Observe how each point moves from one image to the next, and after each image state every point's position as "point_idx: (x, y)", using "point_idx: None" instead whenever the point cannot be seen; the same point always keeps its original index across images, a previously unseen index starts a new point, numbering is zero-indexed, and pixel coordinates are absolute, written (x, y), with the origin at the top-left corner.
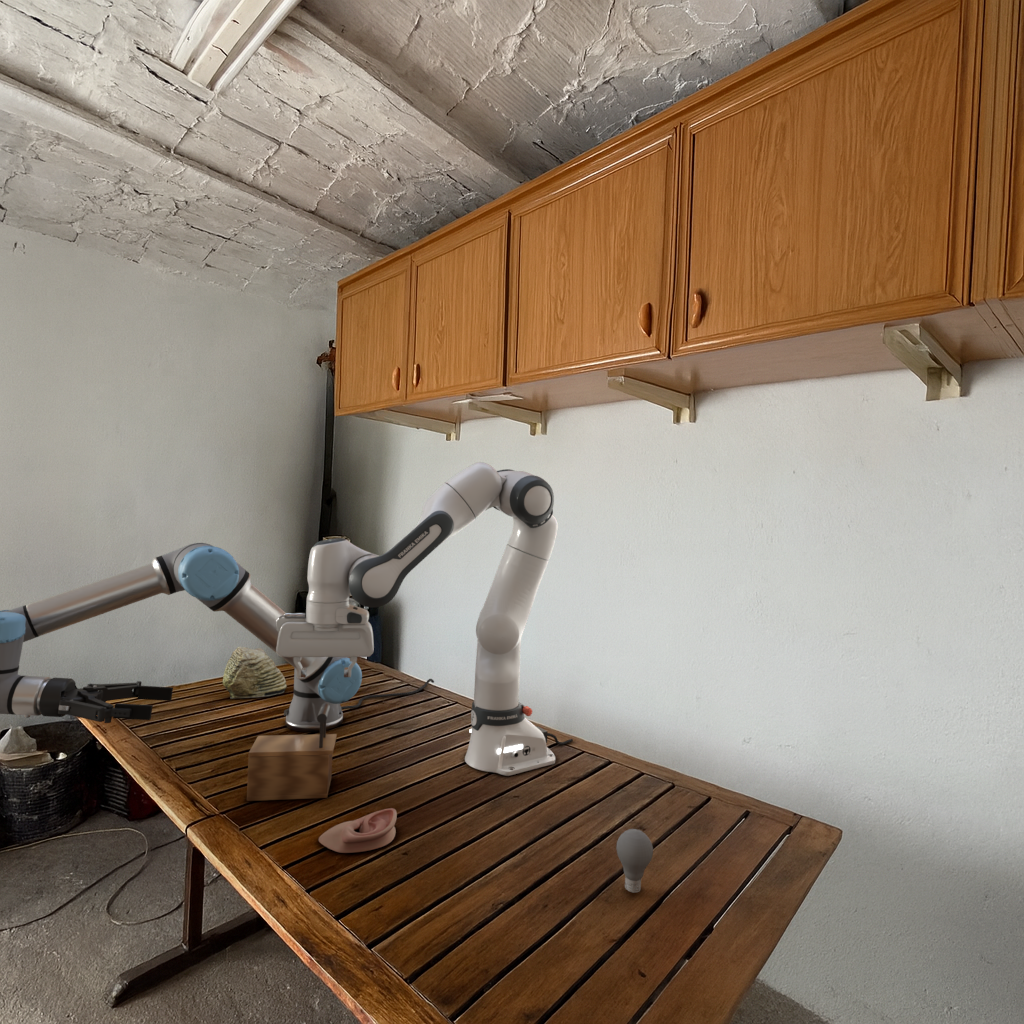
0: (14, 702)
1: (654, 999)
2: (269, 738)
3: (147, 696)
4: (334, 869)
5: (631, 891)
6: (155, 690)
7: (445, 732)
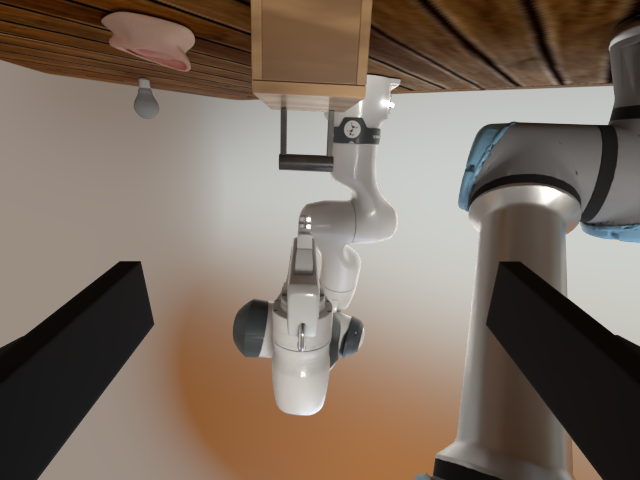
0: None
1: (39, 68)
2: (340, 100)
3: (590, 369)
4: (61, 14)
5: (138, 80)
6: (538, 371)
7: (462, 74)
